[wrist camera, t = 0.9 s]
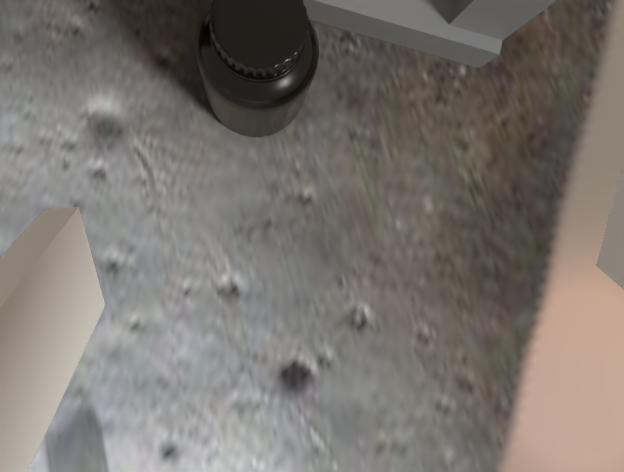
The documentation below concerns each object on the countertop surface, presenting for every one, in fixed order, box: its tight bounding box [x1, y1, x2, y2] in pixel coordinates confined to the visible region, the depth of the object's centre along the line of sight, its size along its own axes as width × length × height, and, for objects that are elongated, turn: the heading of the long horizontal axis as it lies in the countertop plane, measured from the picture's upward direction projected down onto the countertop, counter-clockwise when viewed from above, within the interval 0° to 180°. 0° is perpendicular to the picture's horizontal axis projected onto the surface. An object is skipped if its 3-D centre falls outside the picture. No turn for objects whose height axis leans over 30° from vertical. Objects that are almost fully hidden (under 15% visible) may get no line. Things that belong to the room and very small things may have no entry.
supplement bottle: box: [195, 0, 319, 137], centre depth 30 cm, size 7×7×12 cm
